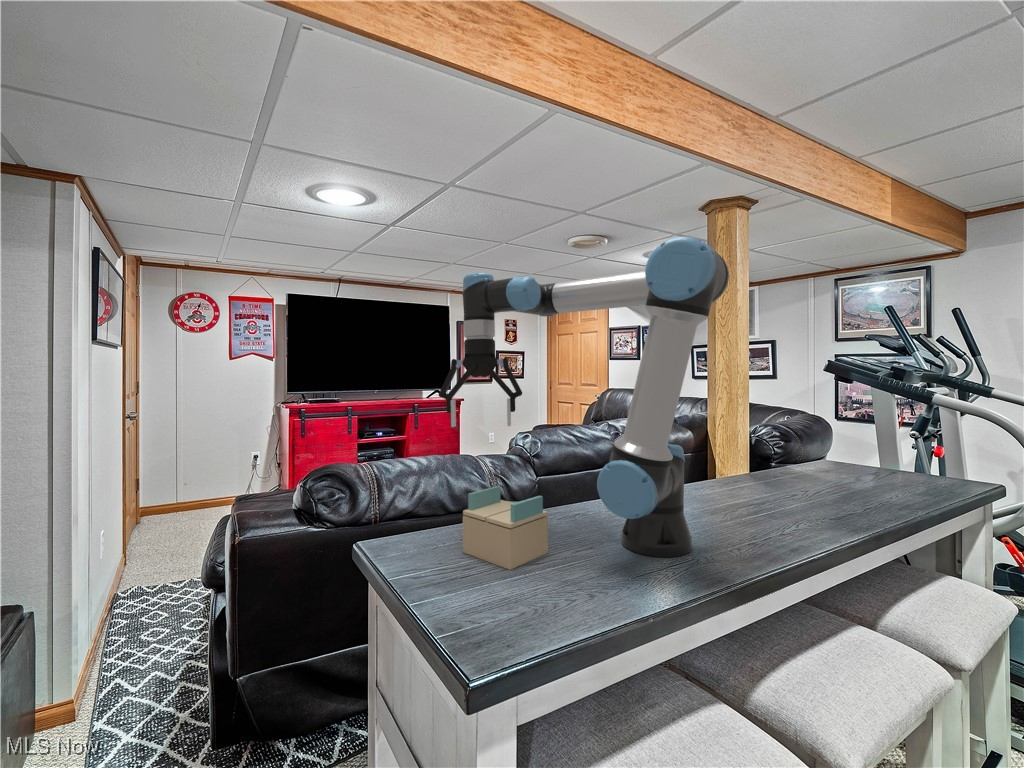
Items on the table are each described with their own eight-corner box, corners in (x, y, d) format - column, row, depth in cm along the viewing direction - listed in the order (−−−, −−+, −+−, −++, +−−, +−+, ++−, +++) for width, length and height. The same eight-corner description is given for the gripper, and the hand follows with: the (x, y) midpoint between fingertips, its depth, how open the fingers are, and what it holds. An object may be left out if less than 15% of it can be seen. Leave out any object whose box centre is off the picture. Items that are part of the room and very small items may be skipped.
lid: (522, 508, 113) (522, 489, 113) (484, 520, 104) (484, 500, 104) (500, 503, 118) (500, 484, 117) (463, 514, 109) (462, 494, 109)
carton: (548, 552, 108) (548, 516, 108) (510, 569, 100) (509, 530, 99) (501, 538, 118) (501, 504, 118) (463, 552, 109) (462, 515, 109)
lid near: (547, 515, 108) (547, 495, 108) (510, 528, 99) (510, 506, 99) (523, 509, 113) (523, 490, 112) (486, 521, 104) (486, 500, 104)
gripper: (530, 338, 125) (532, 423, 126) (431, 340, 126) (433, 425, 127) (530, 336, 118) (532, 426, 118) (425, 339, 119) (427, 428, 119)
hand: (481, 426), depth 123 cm, fingers open, 13 cm apart
